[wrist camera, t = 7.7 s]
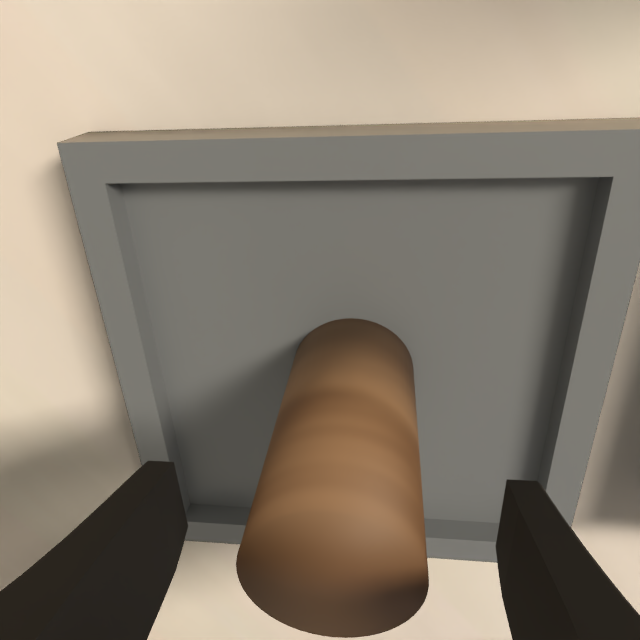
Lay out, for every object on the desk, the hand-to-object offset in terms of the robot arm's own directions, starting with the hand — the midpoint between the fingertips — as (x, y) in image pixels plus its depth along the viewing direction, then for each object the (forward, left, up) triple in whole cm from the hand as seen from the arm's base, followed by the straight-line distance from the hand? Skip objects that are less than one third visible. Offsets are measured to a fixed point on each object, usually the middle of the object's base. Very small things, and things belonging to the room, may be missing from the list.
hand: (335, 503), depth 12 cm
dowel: (0, 0, -5) cm, 5 cm away
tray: (0, 0, -6) cm, 6 cm away
